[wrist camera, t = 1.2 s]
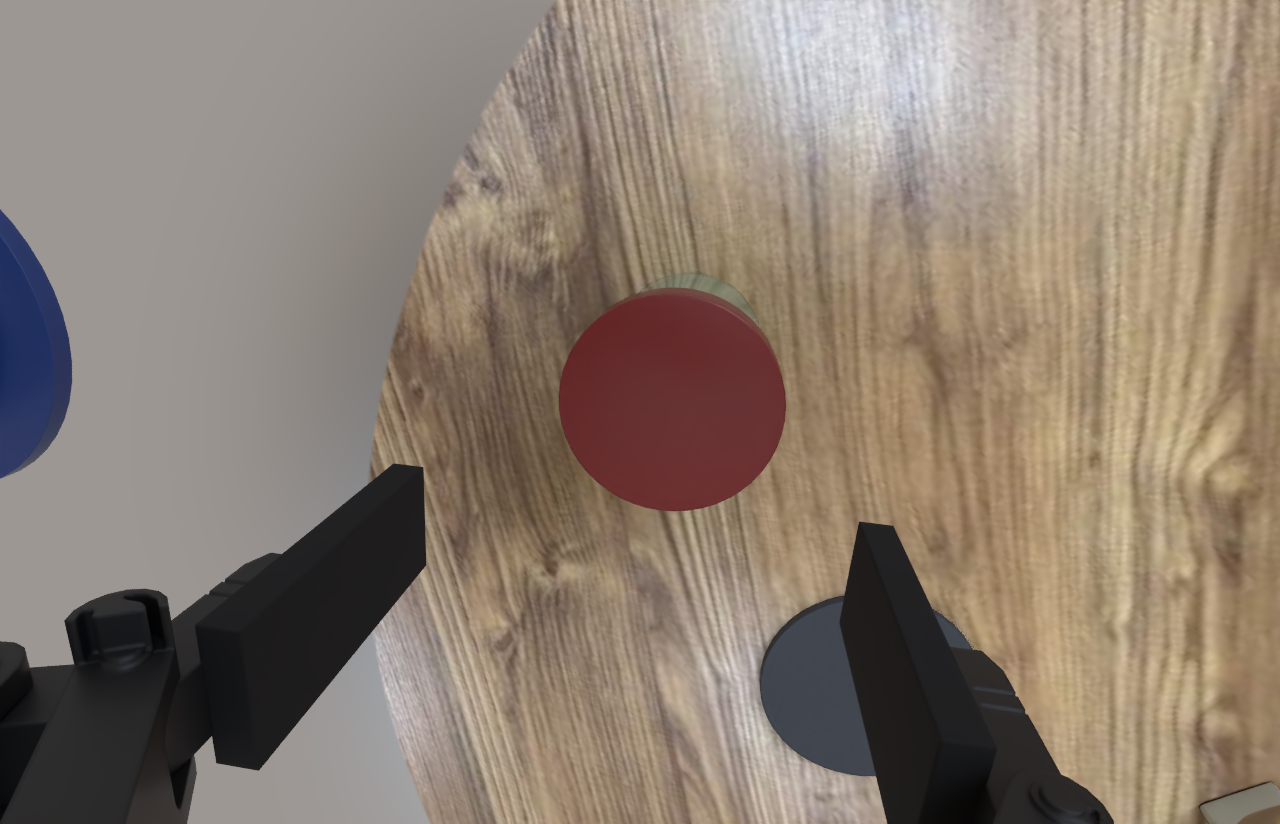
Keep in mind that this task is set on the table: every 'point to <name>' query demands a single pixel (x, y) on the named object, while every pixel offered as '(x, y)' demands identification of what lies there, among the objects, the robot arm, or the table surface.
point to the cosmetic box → (1246, 807)
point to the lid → (673, 399)
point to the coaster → (821, 689)
